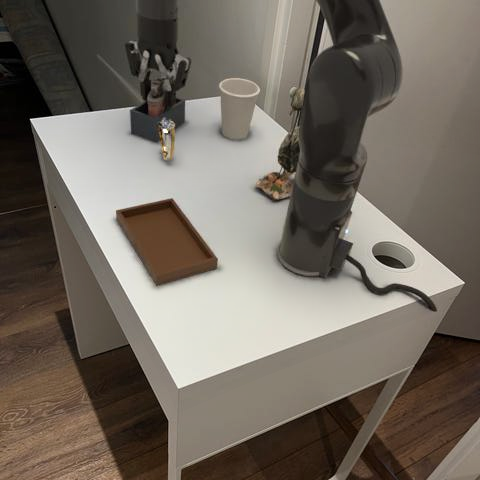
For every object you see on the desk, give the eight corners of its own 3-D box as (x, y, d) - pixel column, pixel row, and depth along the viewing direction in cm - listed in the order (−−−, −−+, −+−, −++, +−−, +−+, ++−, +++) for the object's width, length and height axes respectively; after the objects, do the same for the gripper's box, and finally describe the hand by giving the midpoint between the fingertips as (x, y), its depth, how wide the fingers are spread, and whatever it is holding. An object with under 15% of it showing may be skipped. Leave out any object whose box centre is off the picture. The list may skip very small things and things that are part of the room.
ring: (177, 167, 97) (178, 128, 91) (161, 168, 96) (160, 129, 90) (170, 149, 101) (171, 110, 95) (155, 150, 100) (154, 111, 94)
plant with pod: (316, 190, 97) (343, 86, 82) (270, 205, 92) (290, 96, 77) (291, 169, 101) (312, 66, 86) (245, 182, 96) (259, 75, 81)
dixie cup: (236, 120, 113) (240, 74, 105) (261, 136, 109) (268, 90, 102) (207, 129, 108) (210, 82, 101) (233, 146, 105) (238, 99, 97)
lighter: (160, 138, 104) (160, 89, 96) (144, 135, 104) (143, 86, 96) (171, 121, 109) (172, 74, 102) (156, 118, 109) (156, 70, 102)
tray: (216, 268, 79) (217, 258, 77) (156, 285, 75) (156, 275, 73) (172, 207, 88) (172, 197, 87) (116, 220, 84) (115, 210, 83)
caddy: (184, 122, 109) (185, 100, 106) (156, 143, 102) (155, 119, 99) (160, 114, 111) (160, 91, 107) (131, 133, 104) (129, 110, 100)
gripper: (111, 4, 89) (118, 99, 102) (180, 26, 86) (178, 121, 99) (136, -4, 94) (139, 87, 107) (201, 15, 91) (197, 107, 103)
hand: (158, 103), depth 103 cm, fingers open, 5 cm apart
